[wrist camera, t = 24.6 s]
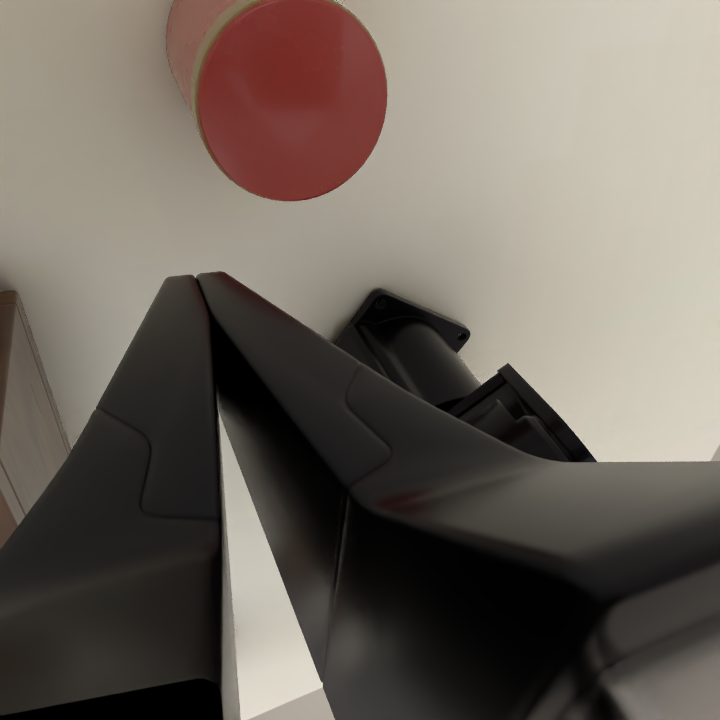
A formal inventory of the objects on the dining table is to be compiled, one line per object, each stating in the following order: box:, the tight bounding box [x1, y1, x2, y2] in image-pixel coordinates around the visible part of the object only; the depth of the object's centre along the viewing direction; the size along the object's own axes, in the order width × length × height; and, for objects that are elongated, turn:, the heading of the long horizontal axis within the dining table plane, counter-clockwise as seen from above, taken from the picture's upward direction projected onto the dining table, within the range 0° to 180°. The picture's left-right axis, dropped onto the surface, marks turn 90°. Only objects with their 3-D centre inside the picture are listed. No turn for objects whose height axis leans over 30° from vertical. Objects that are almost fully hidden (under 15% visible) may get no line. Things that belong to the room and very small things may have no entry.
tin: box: [166, 0, 387, 201], centre depth 16 cm, size 5×5×6 cm
